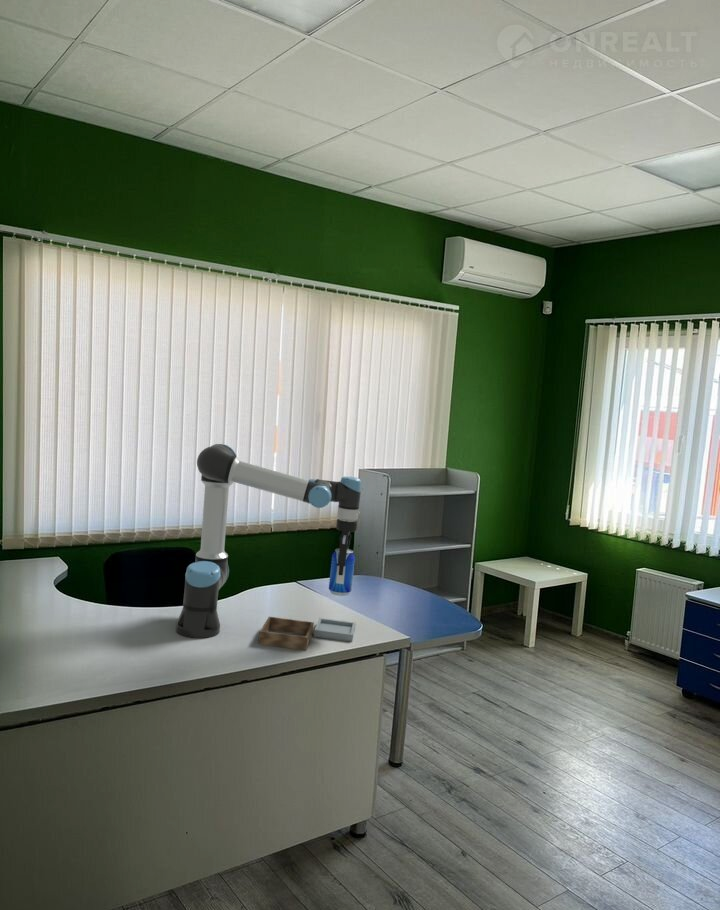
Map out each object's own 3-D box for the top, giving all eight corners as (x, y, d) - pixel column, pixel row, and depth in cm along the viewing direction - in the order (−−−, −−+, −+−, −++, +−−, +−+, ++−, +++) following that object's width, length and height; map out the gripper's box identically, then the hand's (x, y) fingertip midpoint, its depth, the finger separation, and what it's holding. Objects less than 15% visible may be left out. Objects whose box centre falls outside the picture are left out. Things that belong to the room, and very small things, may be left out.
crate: (258, 644, 246) (259, 631, 246) (267, 628, 262) (268, 616, 262) (306, 650, 245) (307, 637, 245) (312, 634, 262) (313, 622, 261)
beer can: (348, 597, 260) (353, 554, 258) (325, 594, 261) (330, 551, 260) (353, 591, 268) (357, 549, 266) (331, 588, 269) (335, 546, 268)
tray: (313, 636, 259) (314, 629, 259) (318, 624, 273) (319, 617, 273) (352, 641, 258) (353, 634, 258) (355, 629, 272) (355, 622, 272)
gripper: (355, 525, 251) (348, 589, 253) (359, 515, 272) (353, 574, 274) (334, 523, 252) (327, 586, 254) (339, 513, 273) (333, 571, 275)
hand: (340, 580), depth 264 cm, fingers closed on beer can, 8 cm apart
